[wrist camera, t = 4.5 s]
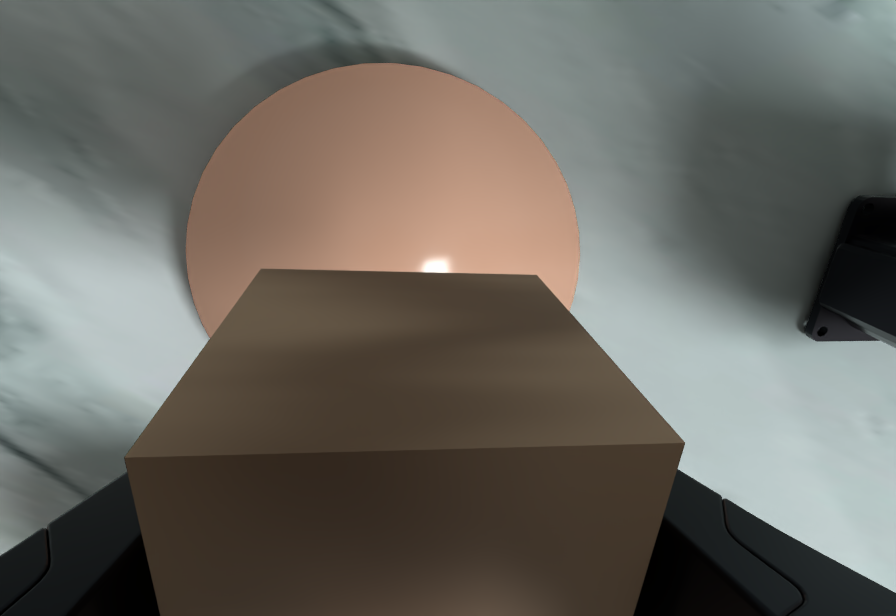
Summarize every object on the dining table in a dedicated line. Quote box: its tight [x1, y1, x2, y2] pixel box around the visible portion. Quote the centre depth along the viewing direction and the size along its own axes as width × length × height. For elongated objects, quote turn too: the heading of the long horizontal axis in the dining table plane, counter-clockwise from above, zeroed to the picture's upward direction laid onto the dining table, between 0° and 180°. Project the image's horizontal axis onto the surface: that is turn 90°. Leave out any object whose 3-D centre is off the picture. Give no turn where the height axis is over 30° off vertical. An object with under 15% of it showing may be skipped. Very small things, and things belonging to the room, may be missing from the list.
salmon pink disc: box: [186, 63, 580, 338], centre depth 19 cm, size 14×14×1 cm
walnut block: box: [124, 269, 685, 616], centre depth 8 cm, size 5×5×5 cm
